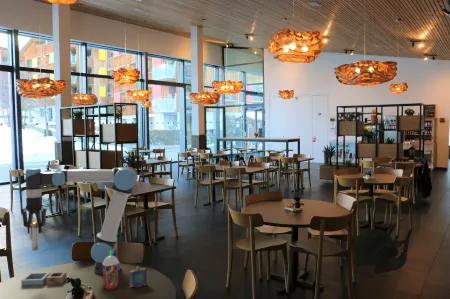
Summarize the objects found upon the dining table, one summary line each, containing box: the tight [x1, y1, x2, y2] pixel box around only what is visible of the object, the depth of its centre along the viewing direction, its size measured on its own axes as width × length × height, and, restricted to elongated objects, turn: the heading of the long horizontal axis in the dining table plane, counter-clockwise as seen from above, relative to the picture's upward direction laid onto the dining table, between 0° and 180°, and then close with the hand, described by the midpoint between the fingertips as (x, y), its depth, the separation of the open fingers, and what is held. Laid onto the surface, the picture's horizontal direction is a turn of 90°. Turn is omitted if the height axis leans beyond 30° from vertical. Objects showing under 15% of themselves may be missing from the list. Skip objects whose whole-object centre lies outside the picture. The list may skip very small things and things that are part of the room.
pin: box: [30, 221, 40, 251], centre depth 211 cm, size 5×5×15 cm
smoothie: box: [102, 251, 120, 291], centre depth 204 cm, size 8×8×20 cm
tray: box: [20, 272, 51, 288], centre depth 212 cm, size 11×11×4 cm
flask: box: [128, 265, 147, 288], centre depth 206 cm, size 9×3×11 cm, turn 121°
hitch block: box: [45, 271, 67, 286], centre depth 213 cm, size 8×8×4 cm
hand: (35, 238), depth 211 cm, fingers closed on pin, 3 cm apart
